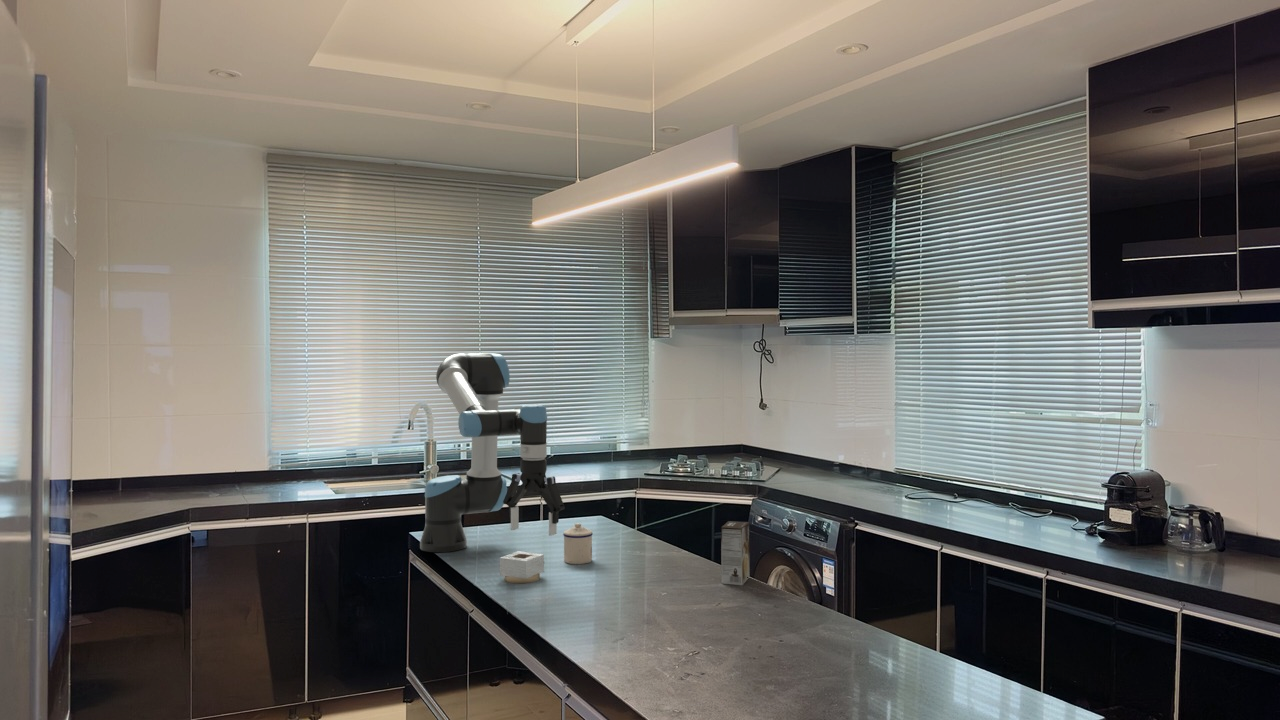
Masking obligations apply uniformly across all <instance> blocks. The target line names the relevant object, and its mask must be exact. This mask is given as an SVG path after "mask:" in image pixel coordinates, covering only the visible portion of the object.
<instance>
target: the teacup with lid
mask: <svg viewBox="0 0 1280 720" xmlns="http://www.w3.org/2000/svg"><path fill="white" fill-rule="evenodd" d="M562 536H563V560H564V563H566V564H571V565H585V564H588V563H591V562H592V561H593V542H592V541H593V531H592V530H591V529H588V528H586V527H585V526H582V524H581V523H579V522H577V523H574V526H572V527H571V528H569V529H566V530H564V531H563V535H562Z"/></svg>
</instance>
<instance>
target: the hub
mask: <svg viewBox="0 0 1280 720" xmlns="http://www.w3.org/2000/svg"><path fill="white" fill-rule="evenodd" d="M523 559H524V558H523ZM540 577H541V573H539V574H537V575H535V576H532V577H530V578H528V579H522V578H515V577H508V576H504V581H505V582H507V583H510V584H511V583H512V584H529V583H530V584H531V583H534V582H537V581H538V580H540Z"/></svg>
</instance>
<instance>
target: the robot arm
mask: <svg viewBox="0 0 1280 720" xmlns="http://www.w3.org/2000/svg"><path fill="white" fill-rule="evenodd" d="M510 377H511V376H510V369H509V364H508V362H507V360H506V358H505V357H504V356H503V355H502V354H500V353H491V352H482V353H481V352H480V353H475V352H474V353H473V352H472V353H455V354H452V355H450V356H448V357H446V358H445V359H444V360H443V361H442V362H441V363H440V365H439V366H438V368H437V370H436V374H435V378H436V383H437V385H438V387H439V389H440V391H442V392H443V393H445V394H447V396H448V398H449V399H450V401H451V403H452V404H453V406H454V408H455V409H456V411H457V413H458V414H459V416H458V422H457V423H458V424H457V425H458V431H459V434H460V435H461V436H462V437H464V438H471V458H470V459H471V460H470V461H471V464H470V466H471V467H470V469H469V470H468V471H466V476H465V477H466V478H464V479H462V477H461V475H458V474H452V475H443V476H438V477H435V478H432V479H429V480H428V481H427V482H426V484H425V488H424V490H425V491H424V500H425V501H424V509H425V512H424V513H425V514H424V515H425V516H424V517H425V520H424V521H425V523H424V529H423V532H422V534H421V538H420V541H419V549H420V551H422V552H427V553H450V552H456V551H459V550H464V549H465V548H467V541H468V540H467V537H466V533H465V531H464V528H463V525H462V515H469V514H479V513H481V514H482V513H491V512H497V511H499V510H501V509H502V508H503V506H504V505H506V506H507V507H508V517H509V518H510V530H511V531H515V530H519V529H520V528H519V522H520V521H519V518H520V517H519V513H520V512H519V506H518V503H519V502H520V501H521V499H522V498H523V497H524V495H525V494H526V493H527V491H528V492H530V491H531V492H535V493H536V492H537V493H538V494H539V495H541V497H542V500H544V503H545V504H546V505H547V507H548V509H549V512H548V536H551V537H552V536H556V534H557V533H558V532H557V531H558V529H557V527H558V526H557V524H558V523H559V522H560V521H559V520H560V519H559V518H560V517H559V515H560V514H559V512H560V511H564V510H565V508H566V507H565V505H564V501H563V499H562V496H561V493H560V491H559V489H558V486H557V483H556V477H555V476H546V475H547V474H546V473H547V470H548V468H547V462H548V461H547V459H546V457H548V453H547V446H548V445H547V444H548V443H547V428H548V426H547V425H548V423H547V422H548V415H547V408H546V406H545V405H544V404H537V403H536V404H535V403H534V404H533V403H532V404H523V405H521V407H520V408H519V407H518V408H512V409H499V399H500V397H501V396H502V395H504V389H506V388H508V386H509V385H510V379H511V378H510ZM518 435H519V436H520V437H519V444H520V448H519V449H520V454H519V455H520V458H521V459H520V461H519V462H520V464H519V465H520V467H519V469H520V472H515V473H512V475H511V481H510V484H509V487H508V486H507V479H506V478H505V477H504V476H502V471H501V470H499V469H498V436H501V437H502V436H518ZM520 481H521V484H520ZM519 484H520V486H519Z"/></svg>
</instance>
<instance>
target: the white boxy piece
mask: <svg viewBox="0 0 1280 720" xmlns="http://www.w3.org/2000/svg"><path fill="white" fill-rule="evenodd" d="M523 558H524V559H523ZM544 572H545V554H543V553H536V552H534V553H533V552H527V551H521V550H517V551H514V552H512V553H510V554H506V555H504V556H500V557H499V576H503V577H505V576H508V577H515V578H522V579H528V578H530V577H532V576H535V575H537V574H539V573H540V574H542V573H544Z"/></svg>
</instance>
